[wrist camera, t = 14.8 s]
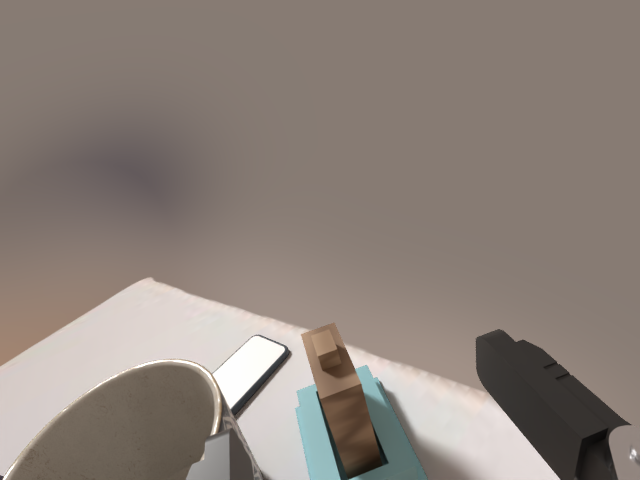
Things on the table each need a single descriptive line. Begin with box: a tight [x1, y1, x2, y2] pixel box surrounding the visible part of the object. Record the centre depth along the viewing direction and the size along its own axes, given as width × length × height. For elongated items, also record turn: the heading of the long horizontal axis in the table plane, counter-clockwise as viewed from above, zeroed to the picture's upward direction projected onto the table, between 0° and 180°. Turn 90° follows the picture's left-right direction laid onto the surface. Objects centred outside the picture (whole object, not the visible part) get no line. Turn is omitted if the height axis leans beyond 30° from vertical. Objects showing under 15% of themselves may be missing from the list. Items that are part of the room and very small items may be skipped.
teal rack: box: [295, 365, 428, 480], centre depth 42 cm, size 12×14×4 cm
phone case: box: [212, 335, 289, 416], centre depth 55 cm, size 9×2×16 cm
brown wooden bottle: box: [301, 323, 382, 480], centre depth 39 cm, size 4×9×16 cm, turn 14°
